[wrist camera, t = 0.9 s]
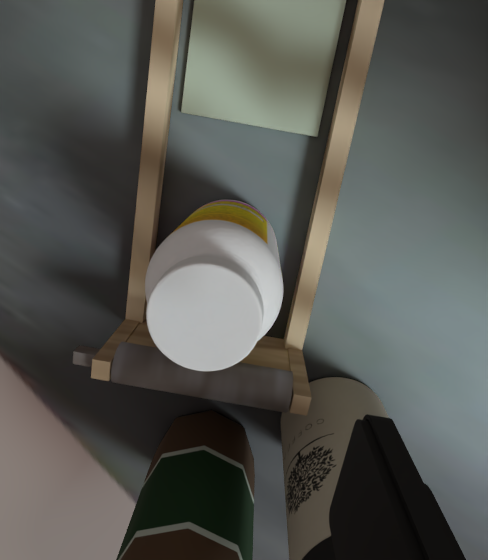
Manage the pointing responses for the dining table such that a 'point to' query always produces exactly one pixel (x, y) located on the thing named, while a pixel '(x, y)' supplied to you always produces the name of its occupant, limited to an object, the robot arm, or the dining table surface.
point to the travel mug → (319, 460)
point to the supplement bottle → (214, 286)
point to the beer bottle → (196, 495)
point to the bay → (252, 111)
